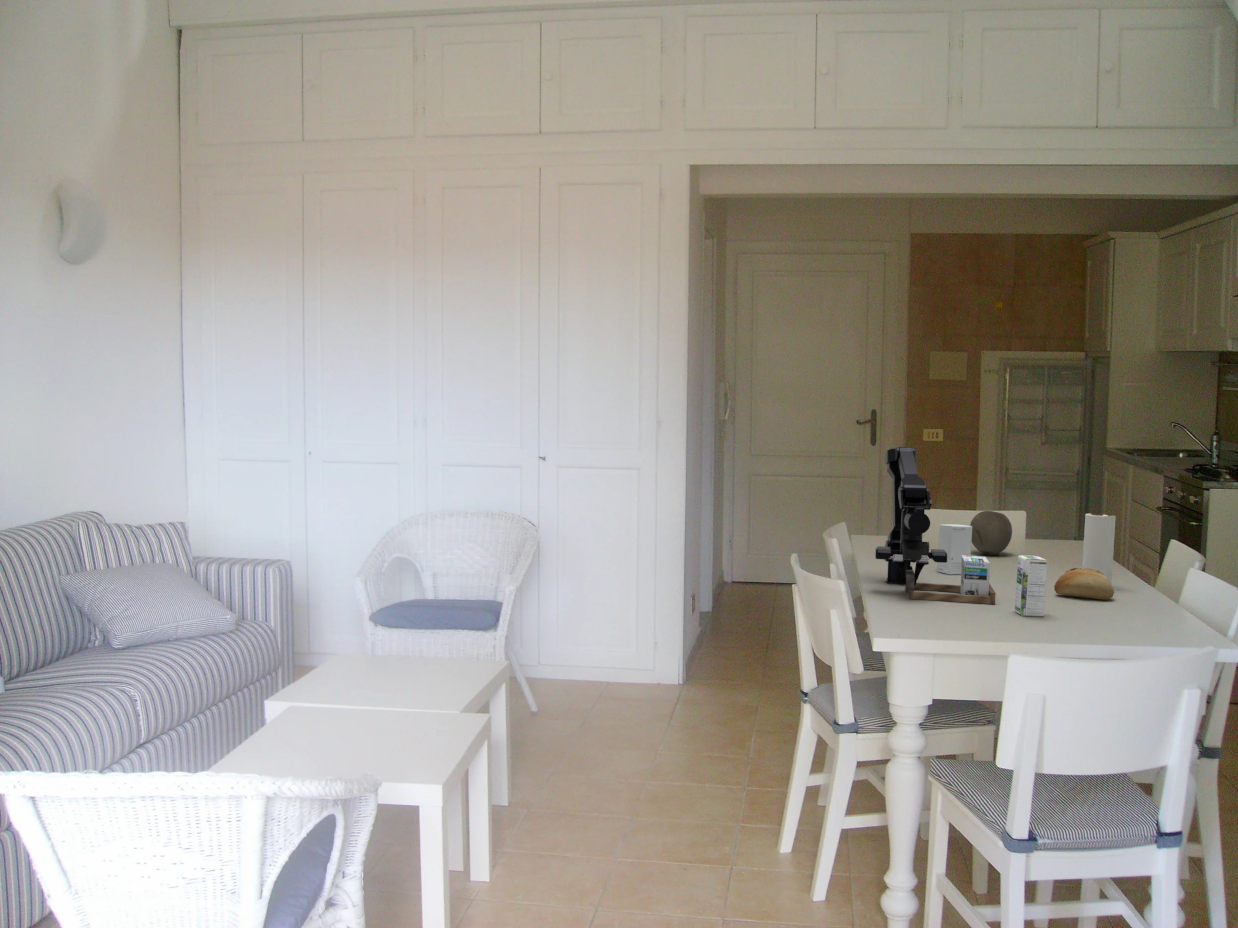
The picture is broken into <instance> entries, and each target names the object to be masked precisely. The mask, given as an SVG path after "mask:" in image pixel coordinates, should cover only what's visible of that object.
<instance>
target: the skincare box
mask: <svg viewBox="0 0 1238 928" xmlns="http://www.w3.org/2000/svg"><path fill="white" fill-rule="evenodd" d="M938 532H939V533H938V547H937V549H941V550H945V551H946V553H947V562H946V563H942V562H937V569H936V571H937V572H939V573H943V574H946V575H950V576H951V575H961V564H962V555H966V556H972V555H971V554H972V542H971V541H972V526H970V525H965V524H957V523H956V524H955V523H954V524H950V523H948V524H946V523H943V524H942V523H941V524H939V531H938Z"/></svg>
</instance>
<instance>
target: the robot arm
mask: <svg viewBox="0 0 1238 928" xmlns="http://www.w3.org/2000/svg"><path fill="white" fill-rule="evenodd" d="M917 453H918V452H917V450H916V449H915V448H914V447H912V446H897V447H895V448H892V447H891V448H889V449H887V450H886V451H885V452H884V464H886V471H887V474H889V477H890V478H891V479H892V529H891V530H890V532H889V534H888V535H887V540H886V541H885V544H884V546H881V545H880V546H877V547H875V549H874V550H875V552H874V559H876V560H883V561H885V562H887V576H886V583H887V584H899V585H902V584H903V585H904V587H905V586H906V570H914V574H915V578H914V586H915V585H916V582H917V581H918V579H919V577H920V574H921V572H922V570H923V568H924V567H925V566H927V565H929V564H930V563H929V560H930V559H931V560H932V561H933V562H934V563H938V562H942V563H946V562H947V553H946V551H945V550H941V549H938V548H931V549H930V542H929V541H923V534H924V533H926V532H927V531H928V530H930V529H929V528H930V527H931V520H930V518H929V516H928V515H927V514H926V513H925V510H926V511H931V507H932V505H933V502H932V496H931V491H930V489H929V487H927V484H926V482H925V479H923V478H921V477H920V476H919V473H918V468H917V467H918V466H917V462H918V461H917V456H918V455H917ZM911 563H914V564H915V568H914V569H913V566H912V565H911ZM917 583H918V582H917Z"/></svg>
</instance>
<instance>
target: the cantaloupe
mask: <svg viewBox="0 0 1238 928" xmlns="http://www.w3.org/2000/svg"><path fill="white" fill-rule="evenodd" d="M969 526H972V541H971V545H973V547H974V548H975V549H976V550H977V551H979V552H980V553H981V554H984V555H987V556H996V555H998V554H1001V553H1002V552H1003V551H1005V549H1007V547H1008V546H1009V544H1010V542H1011V540H1012V537H1013V536H1012V535H1013V527H1012V523H1011V521H1010V519H1009V518H1008V516H1006V515H1005V514H1004V513H1001V512H997V511H992V510H983V511H980V512H978V513H976V514H975V515H974V516H973V518H972V519H971V521H970V524H969Z"/></svg>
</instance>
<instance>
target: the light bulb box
mask: <svg viewBox="0 0 1238 928" xmlns="http://www.w3.org/2000/svg"><path fill="white" fill-rule="evenodd" d="M990 573H991V562H990V560H988V558H987V557H986V556H977V555H971V556H966V555H962V564H961V574H960V585H961V590H960V592H959V593H960V594H962V595H977V596H989V583H990V579H991V578H990V576H991V575H990Z"/></svg>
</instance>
